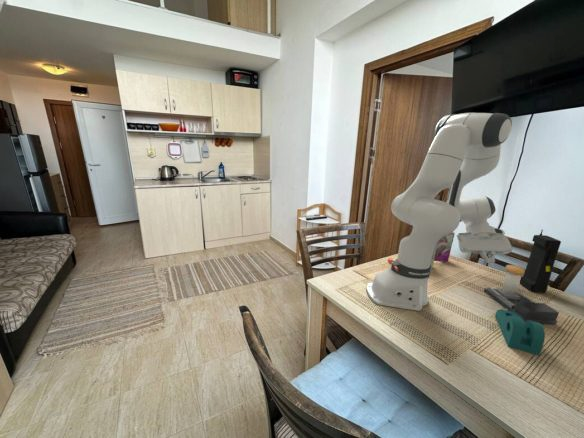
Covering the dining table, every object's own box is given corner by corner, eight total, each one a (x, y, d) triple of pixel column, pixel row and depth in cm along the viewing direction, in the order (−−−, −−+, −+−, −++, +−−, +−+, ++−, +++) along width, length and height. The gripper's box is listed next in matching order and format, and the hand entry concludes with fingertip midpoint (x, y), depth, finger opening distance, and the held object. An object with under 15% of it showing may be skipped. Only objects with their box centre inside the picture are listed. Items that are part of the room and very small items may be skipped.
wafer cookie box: (424, 260, 126) (430, 230, 122) (422, 256, 131) (427, 227, 126) (448, 262, 124) (455, 232, 119) (445, 258, 128) (451, 229, 124)
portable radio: (549, 295, 97) (569, 236, 90) (531, 293, 98) (550, 235, 91) (534, 284, 104) (552, 230, 97) (518, 283, 105) (535, 228, 99)
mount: (483, 291, 98) (486, 281, 97) (508, 292, 98) (512, 282, 96) (524, 323, 80) (528, 311, 79) (556, 324, 79) (560, 312, 78)
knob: (495, 291, 95) (502, 264, 92) (508, 292, 95) (516, 265, 92) (505, 299, 90) (514, 270, 87) (520, 299, 90) (529, 271, 87)
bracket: (538, 356, 67) (547, 332, 65) (507, 347, 70) (514, 324, 68) (517, 318, 82) (524, 298, 80) (492, 312, 85) (498, 293, 83)
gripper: (460, 229, 106) (469, 258, 99) (507, 230, 105) (521, 260, 98) (451, 235, 111) (460, 263, 105) (497, 236, 111) (509, 265, 104)
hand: (490, 262), depth 101 cm, fingers closed
